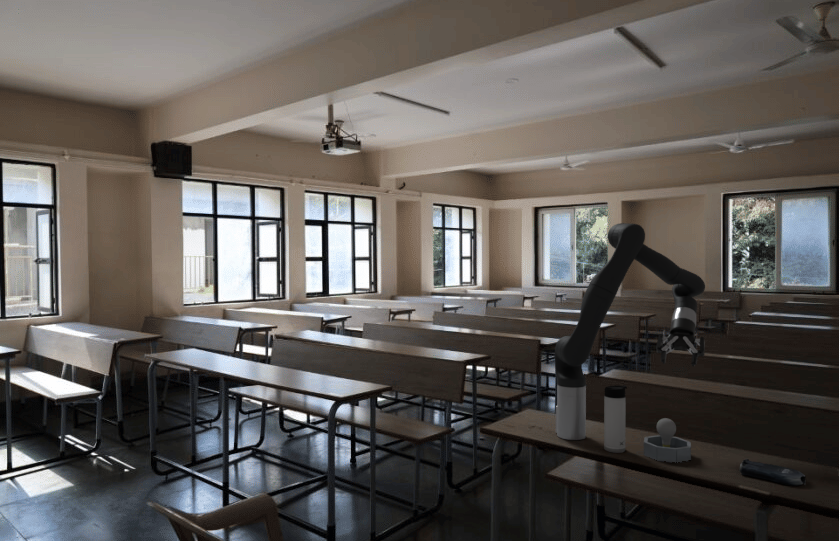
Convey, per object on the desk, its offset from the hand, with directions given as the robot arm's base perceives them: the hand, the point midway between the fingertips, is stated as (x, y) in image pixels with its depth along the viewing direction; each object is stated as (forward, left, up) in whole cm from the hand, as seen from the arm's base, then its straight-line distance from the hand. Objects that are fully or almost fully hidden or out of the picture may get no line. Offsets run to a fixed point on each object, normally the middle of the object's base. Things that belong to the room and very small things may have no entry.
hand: (678, 363), depth 192 cm
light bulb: (+6, -11, -25) cm, 28 cm away
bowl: (+6, -11, -26) cm, 29 cm away
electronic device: (+32, +2, -26) cm, 41 cm away
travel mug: (-4, -22, -26) cm, 34 cm away
